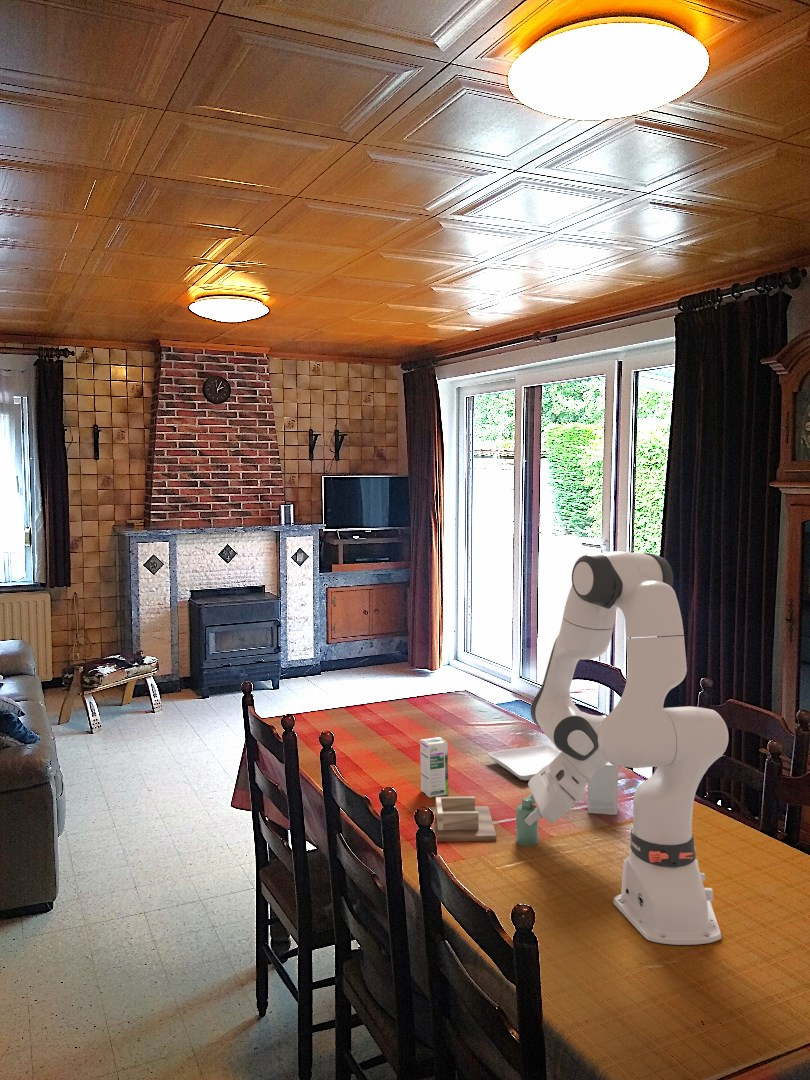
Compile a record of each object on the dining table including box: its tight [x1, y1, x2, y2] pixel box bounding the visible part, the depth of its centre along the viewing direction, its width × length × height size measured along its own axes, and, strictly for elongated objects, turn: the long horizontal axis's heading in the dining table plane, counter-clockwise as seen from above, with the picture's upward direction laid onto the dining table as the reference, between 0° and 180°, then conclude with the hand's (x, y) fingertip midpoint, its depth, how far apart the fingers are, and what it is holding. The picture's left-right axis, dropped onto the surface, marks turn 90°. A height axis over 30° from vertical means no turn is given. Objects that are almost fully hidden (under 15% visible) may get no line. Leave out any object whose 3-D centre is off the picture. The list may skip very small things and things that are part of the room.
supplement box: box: [586, 762, 619, 816], centre depth 219 cm, size 7×7×13 cm
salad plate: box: [487, 744, 562, 781], centre depth 250 cm, size 21×21×3 cm
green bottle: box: [515, 797, 539, 847], centre depth 200 cm, size 5×5×10 cm
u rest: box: [426, 795, 497, 842], centre depth 210 cm, size 18×16×5 cm
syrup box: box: [419, 736, 450, 799], centre depth 232 cm, size 6×6×14 cm
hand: (524, 817), depth 200 cm, fingers closed on green bottle, 5 cm apart
